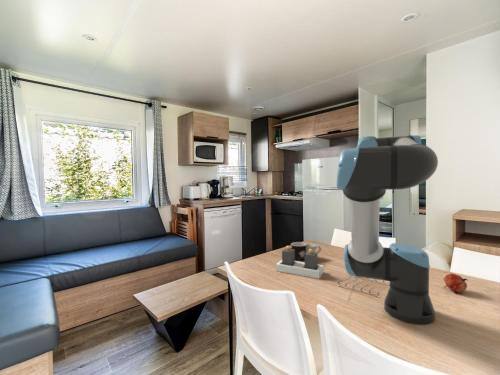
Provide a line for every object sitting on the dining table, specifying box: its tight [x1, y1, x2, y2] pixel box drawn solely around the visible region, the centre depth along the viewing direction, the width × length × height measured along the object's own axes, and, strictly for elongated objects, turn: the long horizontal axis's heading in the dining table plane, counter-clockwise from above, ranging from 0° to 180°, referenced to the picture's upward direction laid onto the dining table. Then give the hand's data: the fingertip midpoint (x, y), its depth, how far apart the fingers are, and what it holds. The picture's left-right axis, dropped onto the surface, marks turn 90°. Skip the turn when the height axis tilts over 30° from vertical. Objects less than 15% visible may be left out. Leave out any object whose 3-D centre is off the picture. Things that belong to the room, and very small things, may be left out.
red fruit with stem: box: [443, 273, 468, 294], centre depth 104 cm, size 7×7×10 cm
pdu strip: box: [275, 259, 325, 280], centre depth 128 cm, size 9×22×4 cm, turn 60°
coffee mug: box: [290, 241, 308, 262], centre depth 144 cm, size 12×9×10 cm
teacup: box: [306, 243, 322, 255], centre depth 148 cm, size 14×11×8 cm
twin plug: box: [304, 249, 319, 270], centre depth 124 cm, size 5×5×12 cm
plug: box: [281, 245, 295, 266], centre depth 131 cm, size 5×5×12 cm
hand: (367, 218), depth 114 cm, fingers open, 13 cm apart
